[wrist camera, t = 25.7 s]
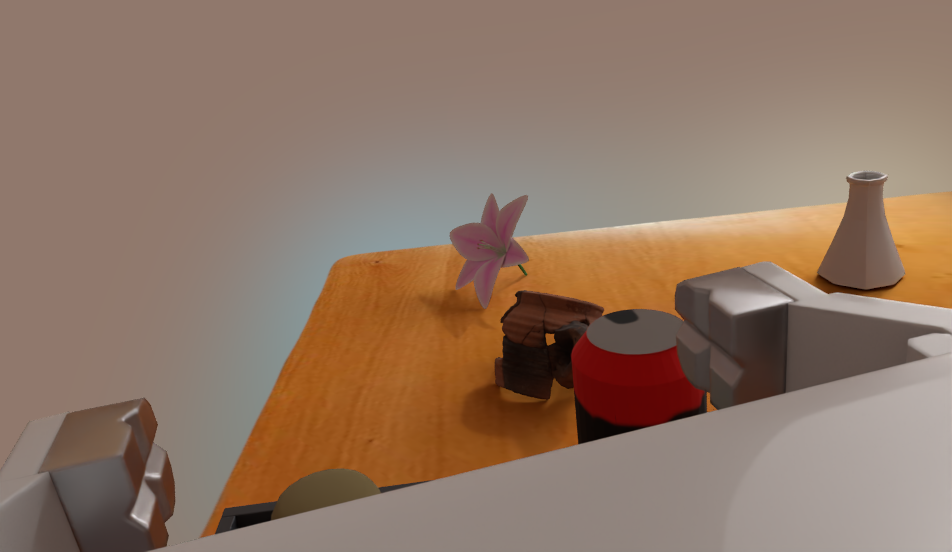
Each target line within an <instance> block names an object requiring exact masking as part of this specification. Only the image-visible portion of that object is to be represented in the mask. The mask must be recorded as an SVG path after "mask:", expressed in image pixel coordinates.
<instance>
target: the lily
mask: <svg viewBox="0 0 952 552" xmlns="http://www.w3.org/2000/svg"><path fill="white" fill-rule="evenodd" d="M527 200H528V196H527V195H524V196H522V197H519V198H517V199H515V200H513V201H512V202H510V203H509V204H507V205H506V206H505V207H503V208H502V209H501V210H500V212H499V209H498V206H497V203H496V200H495V197H494V195H493V194H491V195H490V196H489V198H488V200H487V203H486V205H485V208H484V211H483V215H482V219H481V223H469V224H465V225H462V226H459V227H457V228H455V229H453V230H452V231H451V232H450V239H451V241H452V243H453V245H454V247H455V248H456V250H457V251H458V252H459V253H460V255H462V256H463V257H464V258H465V259H467V261H466V262H465V264H464V266H463V268H462V270H461V272H460V275H459V277H458V280H457V283H456V290H458V289H460V288H462V287H463V286H465V285H467V284H468V283H470V282H472V281H473V280H474V286H475V290H476V293H477V297H478V299H479V301H480V304H481V305H482V307H483V308H485V309H486V308H487V306H488V304H489V301H490V298H491V294H492V290H493V287H494V284H495V280H496V278H497V275H498V272H499V270H500V267H510V266H515V265H518V266H519V267H520V269H521V270H522V272H523V273H524V275H525V276H526V275H527V273H526V271H525V270H524V268H523V267H522V266H521V264H523V263H526V262H527V261H529V258H528V256H527V254H526V253H525V252H524V250H523V249H522V248H521V246H520V245H519V244H518V243H517V242H516V241H515V240H514V239H513V238H512V235H513V232H514V229H515V227H516V224H517V222H518V220H519V218H520V215H521V213H522V211H523V209H524V207H525V205H526V202H527Z"/></svg>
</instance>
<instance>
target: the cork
mask: <svg viewBox="0 0 952 552" xmlns="http://www.w3.org/2000/svg"><path fill="white" fill-rule="evenodd" d="M377 494H381V492H380V490H379V488H378V487H377V486H376V485H375V484H374V483H373V481H372V480H370V479H369V478H368V477H367V476H365V475H364V474H361V473H359V472H357V471H355V470H349V469H328V470H324V471H320V472H316V473H313V474H310V475H308V476H306V477H303V478H301V479H299V480H298V481H296V482H295V483H293V484H292V485H290V486H289V487H288V488H287V489H286V490H285V491H284V492H283V493H282V494H281V495H280V497H279V499H278V501H277V503H276V505H275V508H274V510H273V512H272V515H271V521H272V520H276V519H280V518H284V517H288V516H292V515H296V514H300V513H304V512H308V511H312V510H316V509H320V508H324V507H328V506H332V505H336V504H340V503H345V502H349V501H353V500H357V499H361V498H365V497H369V496H373V495H377Z"/></svg>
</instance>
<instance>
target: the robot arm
mask: <svg viewBox="0 0 952 552" xmlns="http://www.w3.org/2000/svg"><path fill="white" fill-rule="evenodd" d="M675 310H676V311H677V312H678V313H679V315H680V316H681V317H682V318H683V319H684V322H683V324H682V325H681V327H680V329H679V330H678V332H677V334H676V344H677V355H678V358H679V362H680V365H681V368H682V371H683V373H684V374H685V376H686V378H687V379H688V381H689V382H690V383H691V384H692V385H693V386H694V387H695V388H696V389H699V390H703V391H706V392H709V393H710V403H711V404H712V405H713V406H714V407H715V408H716V409H717V410H716V411H712V412H708V413H704V414H700V415H696V416H692V417H688V418H684V419H680V420H676V421H672V422H668V423H664V424H660V425H656V426H652V427H647V428H643V429H639V430H635V431H631V432H627V433H623V434H619V435H615V436H611V437H607V438H603V439H599V440H595V441H591V442H587V443H583V444H579V445H575V446H571V447H567V448H563V449H559V450H555V451H551V452H546V453H542V454H538V455H534V456H530V457H526V458H522V459H518V460H514V461H510V462H506V463H502V464H498V465H494V466H490V467H486V468H482V469H478V470H474V471H470V472H466V473H462V474H458V475H454V476H450V477H446V478H441V479H437V480H433V481H429V482H425V483H421V484H417V485H413V486H409V487H405V488H401V489H397V490H393V491H389V492H385V493H381V494H377V495H373V496H369V497H365V498H361V499H357V500H353V501H349V502H345V503H340V504H336V505H332V506H328V507H324V508H320V509H316V510H312V511H308V512H304V513H300V514H296V515H292V516H288V517H284V518H280V519H276V520H272V521H268V522H264V523H260V524H256V525H252V526H248V527H244V528H239V529H235V530H231V531H227V532H223V533H219V534H215V535H211V536H207V537H203V538H199V539H195V540H191V541H187V542H183V543H179V544H175V545H171V546H167V541H168V536H169V535H168V532H167V529H166V526H165V522H166V521H167V520H168V519H169V518H170V517H171V516H172V515H173V512H174V506H175V485H174V478H173V473H172V468H171V464H170V461H169V458H168V454H167V451H165V450H164V449H162V448H161V447H160V446H158V445H157V444H155V443H154V442H153V441H154V437H155V433H156V430H157V426H158V424H157V421H156V418H155V416H154V413H153V410H152V408H151V405H150V404H149V402H148V401H147V400H146V399H145V398H140V399H135V400H131V401H125V402H121V403H116V404H110V405H105V406H100V407H95V408H90V409H85V410H81V411H75V412H72V413H70V412H65V413H61V414H58V415H54V416H49V417H45V418H41V419H37V420H33V421H30V422H28V424H27V425H26V427H25V429H24V431H23V432H22V434H21V436H20V438H19V439H18V441H17V443H16V445H15V446H14V448H13V449H12V451H11V453H10V455H9V456H8V458H7V460H6V461H5V464H4V465H3V467H2V468H1V470H0V552H952V309H948V308H941V307H934V306H927V305H920V304H913V303H906V302H900V301H893V300H886V299H879V298H872V297H865V296H858V295H852V294H845V293H838V292H836V293H831V294H826V293H825V292H823V291H821V290H819V289H818V288H816V287H814V286H812V285H811V284H809V283H807V282H805V281H804V280H802V279H800V278H798V277H796V276H795V275H793V274H791V273H789V272H788V271H786V270H784V269H782V268H781V267H779V266H777V265H775V264H773V263H772V262H760V263H756V264H753V265H749V266H745V267H742V268H740V267H737V268H733V269H729V270H725V271H721V272H717V273H713V274H709V275H704V276H700V277H696V278H692V279H688V280H684V281H682V282H680V283H679V284H677V287H676V292H675ZM166 546H167V547H166Z"/></svg>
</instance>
